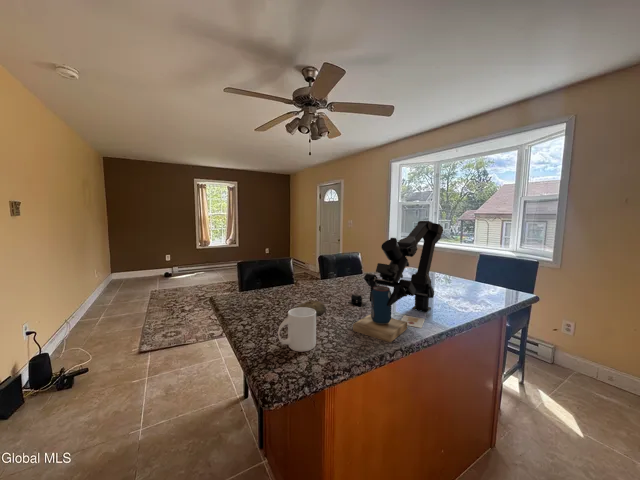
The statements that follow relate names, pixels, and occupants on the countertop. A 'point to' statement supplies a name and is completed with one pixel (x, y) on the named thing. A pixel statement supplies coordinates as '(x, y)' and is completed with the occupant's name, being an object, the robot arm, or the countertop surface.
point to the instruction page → (413, 321)
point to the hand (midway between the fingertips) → (378, 303)
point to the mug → (300, 329)
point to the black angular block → (356, 300)
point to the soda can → (380, 305)
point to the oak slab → (380, 328)
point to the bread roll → (314, 306)
